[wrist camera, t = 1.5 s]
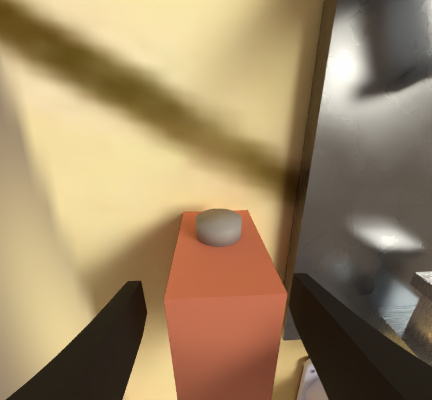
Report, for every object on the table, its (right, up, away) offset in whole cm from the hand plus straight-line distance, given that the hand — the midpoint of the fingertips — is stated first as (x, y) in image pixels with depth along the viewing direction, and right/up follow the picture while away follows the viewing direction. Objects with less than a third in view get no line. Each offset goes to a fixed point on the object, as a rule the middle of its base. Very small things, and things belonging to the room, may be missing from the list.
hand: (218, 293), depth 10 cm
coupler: (0, +1, +3) cm, 3 cm away
